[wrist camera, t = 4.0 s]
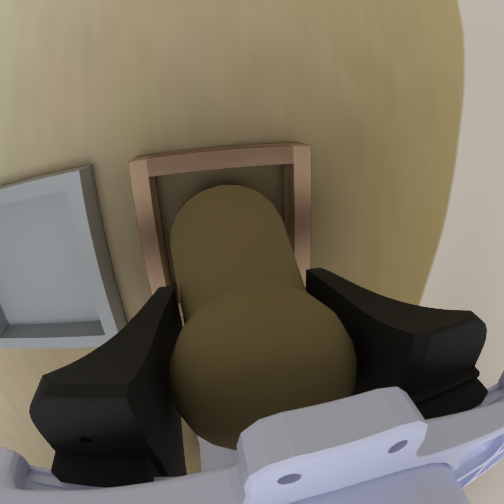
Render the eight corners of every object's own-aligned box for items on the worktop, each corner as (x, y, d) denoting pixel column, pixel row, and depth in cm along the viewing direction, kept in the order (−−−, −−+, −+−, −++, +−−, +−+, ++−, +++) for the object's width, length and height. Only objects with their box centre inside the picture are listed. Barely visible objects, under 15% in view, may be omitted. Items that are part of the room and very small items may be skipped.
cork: (151, 264, 17) (122, 453, 7) (204, 162, 15) (227, 285, 5) (248, 305, 19) (299, 478, 9) (305, 218, 17) (430, 363, 7)
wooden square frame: (298, 282, 23) (308, 300, 21) (160, 298, 22) (157, 318, 20) (297, 142, 19) (310, 145, 17) (137, 156, 18) (128, 161, 16)
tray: (128, 324, 23) (122, 345, 20) (8, 330, 21) (-4, 347, 19) (92, 164, 18) (79, 170, 15) (-37, 197, 16) (-55, 206, 14)
